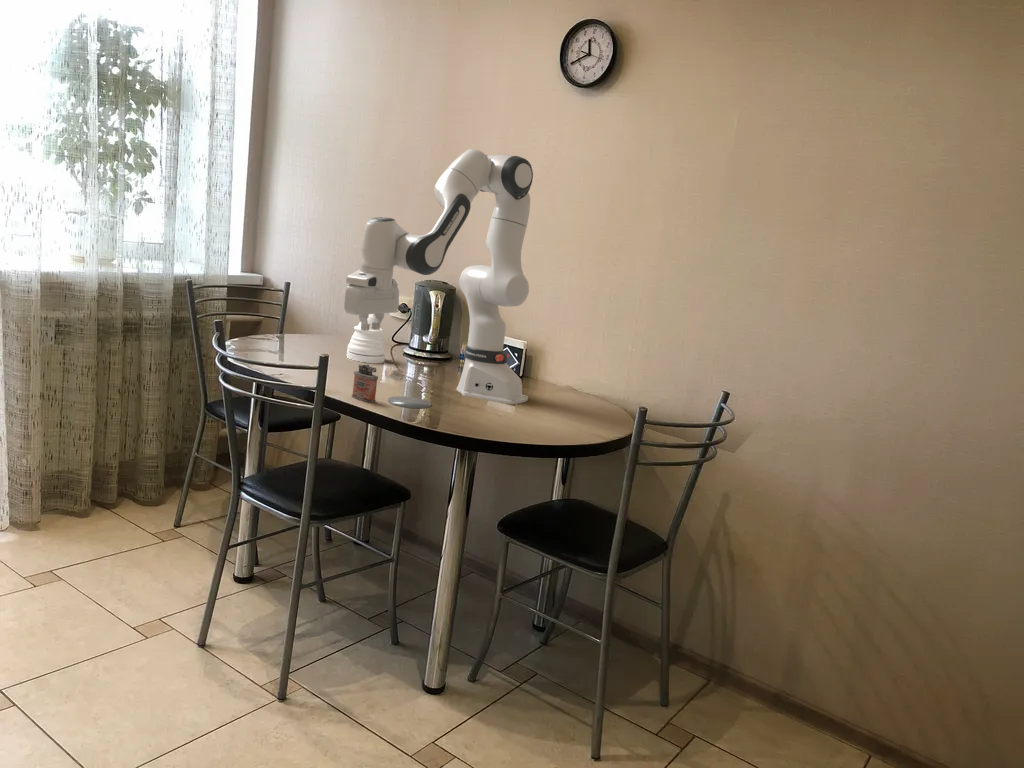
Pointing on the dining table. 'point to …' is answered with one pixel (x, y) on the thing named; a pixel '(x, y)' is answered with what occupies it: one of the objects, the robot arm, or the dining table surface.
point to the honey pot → (367, 344)
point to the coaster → (409, 402)
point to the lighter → (365, 384)
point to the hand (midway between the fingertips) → (370, 329)
